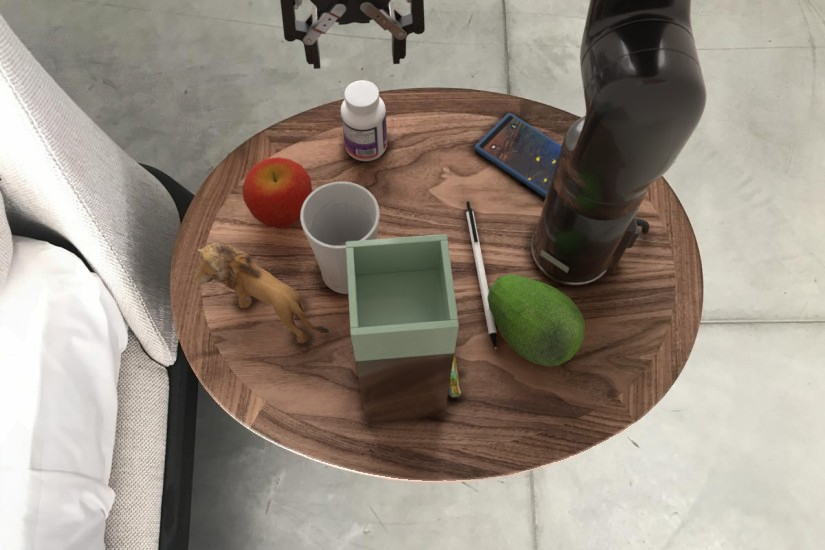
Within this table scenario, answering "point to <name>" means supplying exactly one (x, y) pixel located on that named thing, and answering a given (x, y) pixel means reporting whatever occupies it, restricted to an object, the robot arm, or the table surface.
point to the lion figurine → (253, 285)
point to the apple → (276, 191)
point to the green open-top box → (402, 324)
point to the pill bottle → (364, 121)
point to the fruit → (536, 319)
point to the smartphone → (521, 152)
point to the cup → (338, 226)
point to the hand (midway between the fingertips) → (356, 60)
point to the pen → (481, 274)
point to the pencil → (454, 381)
